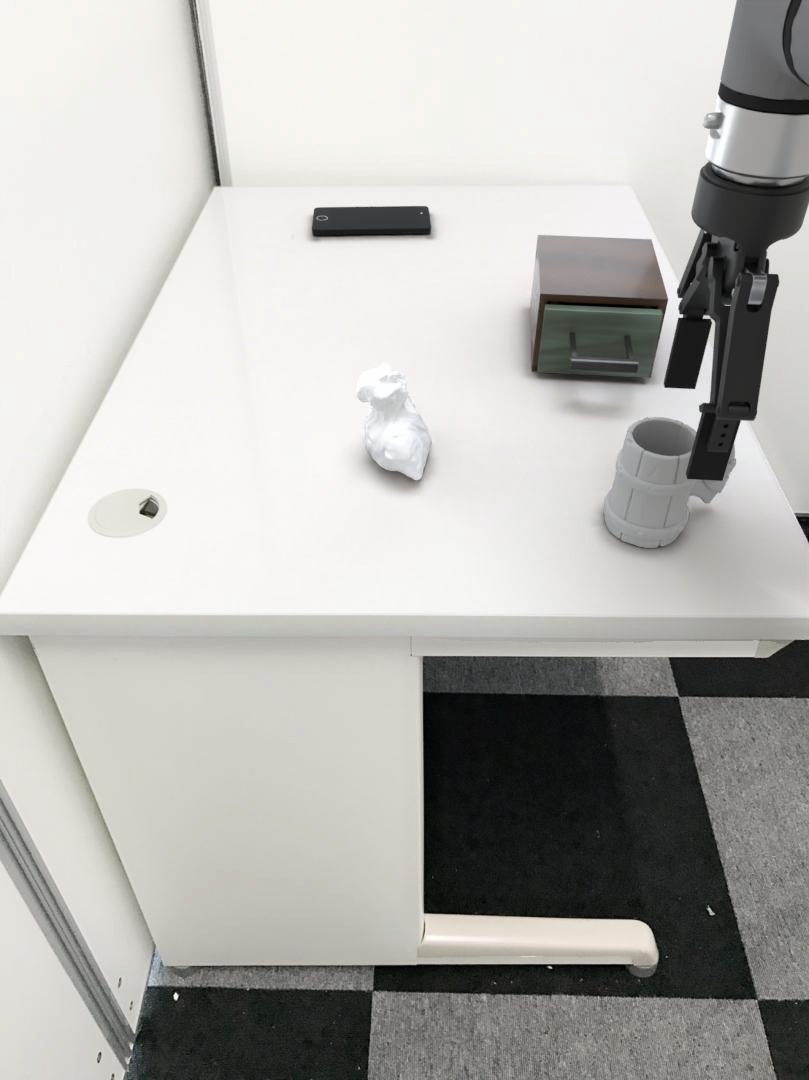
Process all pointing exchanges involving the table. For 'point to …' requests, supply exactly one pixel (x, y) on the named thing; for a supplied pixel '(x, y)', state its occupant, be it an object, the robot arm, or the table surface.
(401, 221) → the cell phone
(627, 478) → the mug
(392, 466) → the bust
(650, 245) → the cabinet
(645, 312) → the drawer
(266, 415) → the table surface
